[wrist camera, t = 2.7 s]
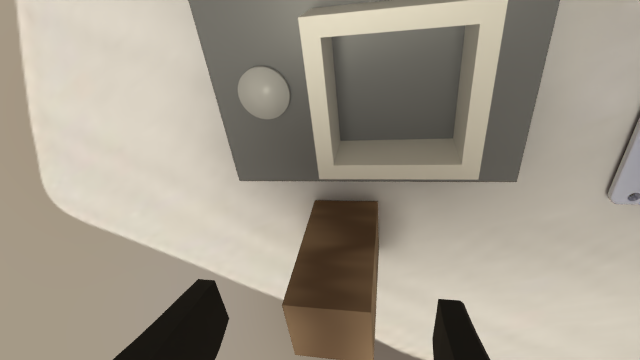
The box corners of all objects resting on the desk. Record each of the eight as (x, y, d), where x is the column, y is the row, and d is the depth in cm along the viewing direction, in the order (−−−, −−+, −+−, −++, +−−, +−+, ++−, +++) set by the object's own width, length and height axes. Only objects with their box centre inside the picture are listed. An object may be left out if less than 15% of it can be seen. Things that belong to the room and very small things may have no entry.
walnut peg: (377, 201, 21) (370, 312, 15) (378, 248, 23) (373, 363, 17) (315, 200, 22) (281, 305, 15) (321, 245, 24) (295, 354, 18)
